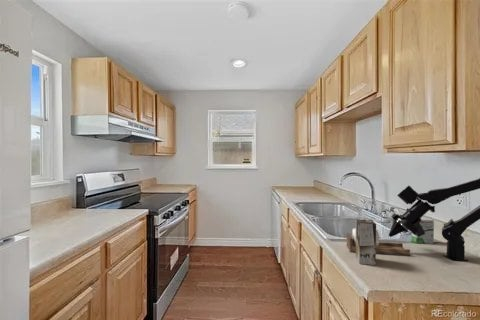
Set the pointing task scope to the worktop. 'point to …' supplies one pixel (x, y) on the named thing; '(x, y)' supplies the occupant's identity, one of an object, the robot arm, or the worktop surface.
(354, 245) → the kitchen roll
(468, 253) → the worktop surface
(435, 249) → the worktop surface
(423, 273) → the worktop surface
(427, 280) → the worktop surface
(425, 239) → the ink box
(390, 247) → the brown tray
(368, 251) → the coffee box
